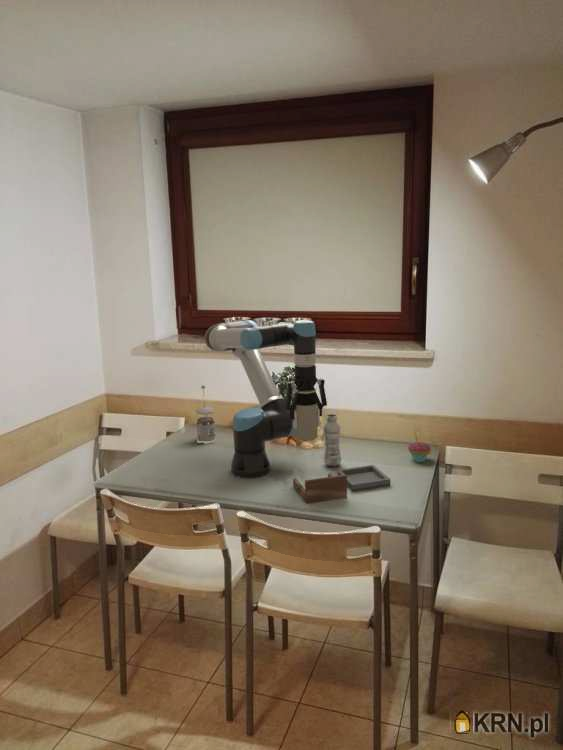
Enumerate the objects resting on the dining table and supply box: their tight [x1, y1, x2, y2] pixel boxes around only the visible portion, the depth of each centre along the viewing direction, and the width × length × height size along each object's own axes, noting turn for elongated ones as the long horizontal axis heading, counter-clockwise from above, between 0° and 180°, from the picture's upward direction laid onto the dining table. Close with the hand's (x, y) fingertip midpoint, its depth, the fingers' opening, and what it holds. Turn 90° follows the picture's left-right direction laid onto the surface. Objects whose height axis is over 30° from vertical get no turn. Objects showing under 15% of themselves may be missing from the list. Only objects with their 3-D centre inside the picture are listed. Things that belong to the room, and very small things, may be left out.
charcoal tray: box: [336, 464, 391, 492], centre depth 221 cm, size 14×14×2 cm
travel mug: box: [294, 388, 319, 442], centre depth 220 cm, size 8×8×18 cm
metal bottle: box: [322, 413, 342, 467], centre depth 235 cm, size 6×7×20 cm
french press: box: [195, 384, 216, 441], centre depth 267 cm, size 10×12×25 cm
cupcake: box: [407, 431, 432, 463], centre depth 238 cm, size 9×8×12 cm
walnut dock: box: [292, 473, 348, 505], centre depth 212 cm, size 15×14×8 cm
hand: (306, 426), depth 221 cm, fingers closed on travel mug, 8 cm apart
